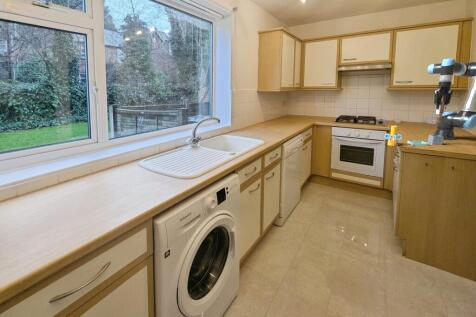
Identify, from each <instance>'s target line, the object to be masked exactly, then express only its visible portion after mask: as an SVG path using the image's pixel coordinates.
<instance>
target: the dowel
mask: <svg viewBox="0 0 476 317" xmlns="http://www.w3.org/2000/svg"><path fill="white" fill-rule="evenodd" d="M440 105H441V109H440V114H436V115H437V116H436V121H435V125H441V120H442V114H443V108H444V101H443V100H441V103H440Z"/></svg>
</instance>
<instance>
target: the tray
mask: <svg viewBox="0 0 476 317" xmlns="http://www.w3.org/2000/svg"><path fill="white" fill-rule="evenodd" d="M406 142H407V144H409V145H410V146H412V147H417V146H430V144H429V143H428V142H426V141H423V140H407V141H406Z"/></svg>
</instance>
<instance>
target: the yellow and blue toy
mask: <svg viewBox="0 0 476 317" xmlns="http://www.w3.org/2000/svg"><path fill="white" fill-rule="evenodd" d="M390 127H391V129H390V133H385V135H384V138H385V139H386V140H387V146H392V147H394V146H395V147H397V144H398V143H397V142H398V141H401V140H402V138H403V136H402V135H401V134H399V133H397V131H398V125H391V126H390Z"/></svg>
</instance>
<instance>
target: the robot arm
mask: <svg viewBox="0 0 476 317" xmlns="http://www.w3.org/2000/svg"><path fill="white" fill-rule="evenodd" d="M427 73H428V74H429V75H439V79H438V80H439V82H438V84H437V85H438V89H437V90H434V91H433V93H434V98H433V99H434V100H433V104H434V105H436V107H435V109H436V112H435V114H436V115H437V114H440V109H441V105H440V103H441V101H444V108H443V114H442V120H441V125H437V124H436V125H437V126H436V130H435V131H434V133H433V135H440V136H444V138H443V141H444V140H446V141H449V140H456V134H455V131H454V129H455V128H460V129H464V130H465V129H469V130H472V129H473V128H475V127H476V61H470V62H465V63H464V62H461V61H457V62H456V59H455V58H444V59H442V62H441V63H440V62H439V63H432V64H429V65H428V67H427ZM453 75H454V76H457V77H465V78H467V77H468V78H471V80H472V82H471V85H470V88H469V91H468V93H467V96H466V99H465V101H464V104H463V108H462V109H460V110H459V113H458V112H457V111H456V110H455V111H445V110H446V109H447V106H448V105H449V104H450V102H451V100H452V96H453V93H454V90H453V89H451V86H452V84H453V82H452V81H453Z"/></svg>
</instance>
